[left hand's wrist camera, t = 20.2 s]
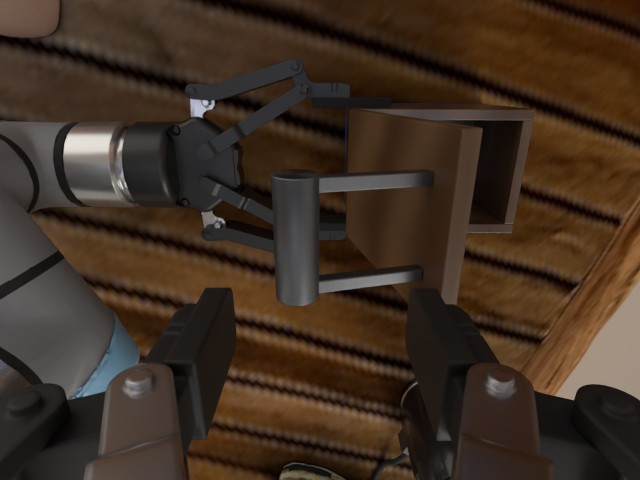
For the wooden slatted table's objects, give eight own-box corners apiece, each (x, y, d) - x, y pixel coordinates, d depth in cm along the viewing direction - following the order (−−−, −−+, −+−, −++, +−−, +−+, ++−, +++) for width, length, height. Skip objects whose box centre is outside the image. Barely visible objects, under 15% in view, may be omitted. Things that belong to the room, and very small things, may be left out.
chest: (482, 103, 40) (536, 109, 30) (468, 199, 44) (512, 233, 34) (346, 103, 40) (354, 108, 30) (343, 199, 44) (350, 232, 34)
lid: (483, 127, 16) (277, 132, 14) (453, 332, 20) (285, 359, 18) (361, 109, 30) (245, 110, 28) (356, 234, 33) (253, 243, 31)
